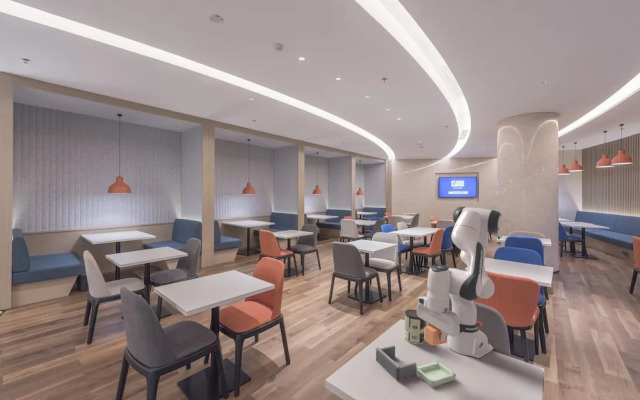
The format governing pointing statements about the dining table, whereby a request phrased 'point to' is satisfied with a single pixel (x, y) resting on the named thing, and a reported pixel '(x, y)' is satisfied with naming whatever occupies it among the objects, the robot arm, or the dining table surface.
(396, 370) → the bay
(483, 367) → the dining table surface
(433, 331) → the orange block
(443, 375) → the tray
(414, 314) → the coffee can
